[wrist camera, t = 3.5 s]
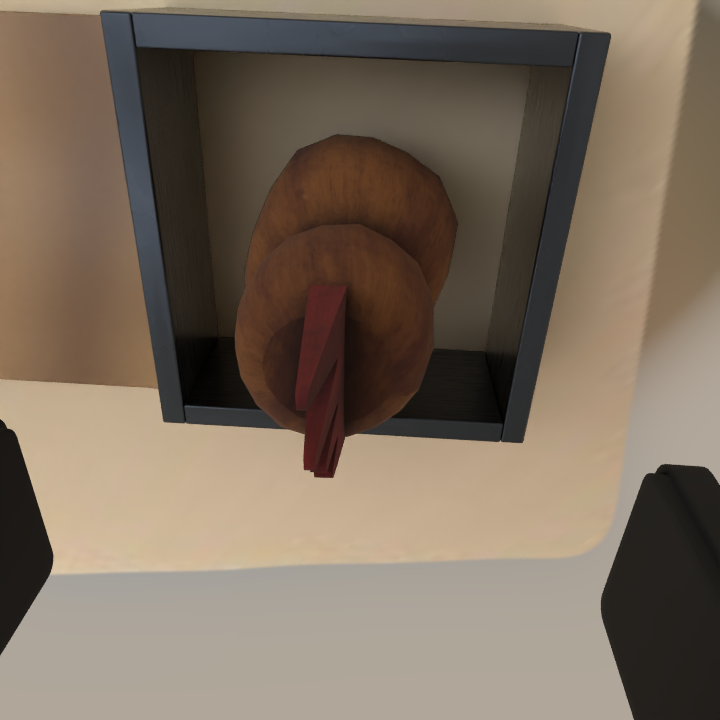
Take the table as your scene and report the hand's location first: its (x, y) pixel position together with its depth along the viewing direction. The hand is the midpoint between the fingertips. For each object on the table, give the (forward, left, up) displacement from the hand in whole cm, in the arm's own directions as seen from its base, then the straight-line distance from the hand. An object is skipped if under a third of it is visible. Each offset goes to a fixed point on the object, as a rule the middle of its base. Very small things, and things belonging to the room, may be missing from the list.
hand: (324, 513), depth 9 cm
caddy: (0, 0, -15) cm, 15 cm away
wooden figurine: (0, 0, -16) cm, 15 cm away
